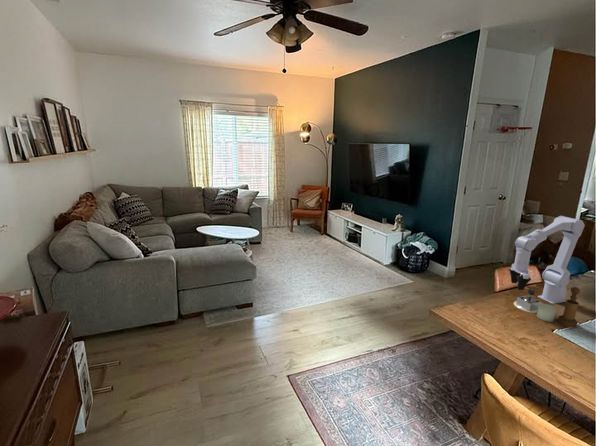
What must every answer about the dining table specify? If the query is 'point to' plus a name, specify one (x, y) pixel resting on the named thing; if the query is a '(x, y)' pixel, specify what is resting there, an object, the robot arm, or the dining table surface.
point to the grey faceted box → (527, 303)
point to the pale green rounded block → (546, 312)
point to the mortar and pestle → (570, 310)
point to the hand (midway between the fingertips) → (517, 286)
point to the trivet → (524, 309)
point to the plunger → (530, 292)
